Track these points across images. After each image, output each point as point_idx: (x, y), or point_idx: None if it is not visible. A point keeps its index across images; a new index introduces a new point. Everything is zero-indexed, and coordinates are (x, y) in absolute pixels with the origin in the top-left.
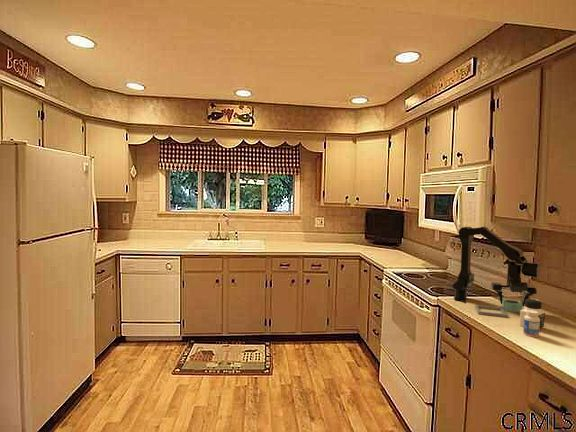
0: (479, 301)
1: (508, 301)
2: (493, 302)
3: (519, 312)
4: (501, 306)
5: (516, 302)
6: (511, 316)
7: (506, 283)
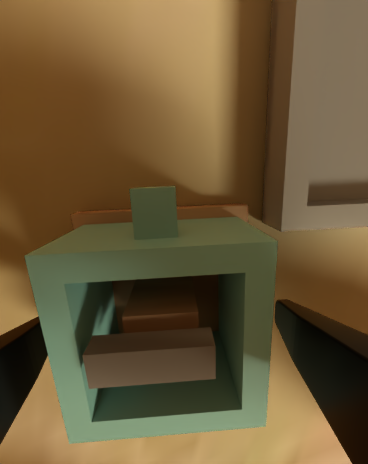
0: None
1: (197, 391)
2: (262, 451)
3: (108, 212)
4: None
5: (109, 338)
6: (202, 78)
7: None
